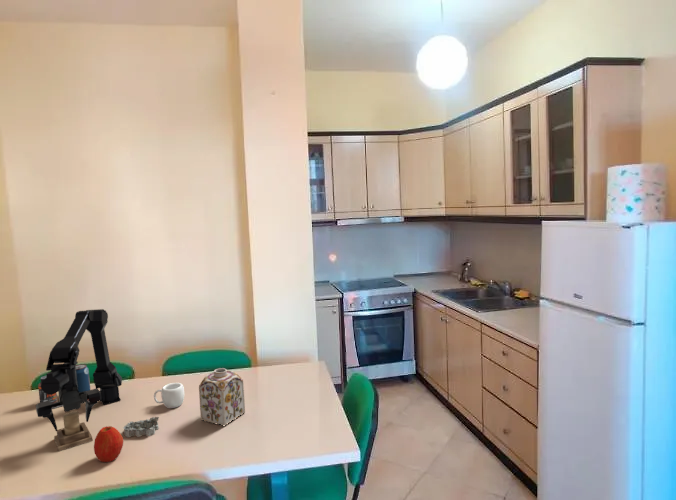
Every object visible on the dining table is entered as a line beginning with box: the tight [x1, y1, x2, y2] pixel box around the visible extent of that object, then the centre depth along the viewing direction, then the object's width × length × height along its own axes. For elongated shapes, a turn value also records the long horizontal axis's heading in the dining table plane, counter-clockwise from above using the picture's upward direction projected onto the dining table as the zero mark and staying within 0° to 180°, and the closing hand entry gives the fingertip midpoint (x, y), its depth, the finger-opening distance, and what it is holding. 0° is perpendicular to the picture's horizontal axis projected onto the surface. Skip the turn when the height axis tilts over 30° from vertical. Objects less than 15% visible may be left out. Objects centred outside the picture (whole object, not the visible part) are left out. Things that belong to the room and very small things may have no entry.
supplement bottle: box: [37, 375, 58, 403], centre depth 187 cm, size 6×6×11 cm
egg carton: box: [123, 416, 160, 438], centre depth 161 cm, size 11×8×4 cm
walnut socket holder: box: [53, 422, 94, 452], centre depth 157 cm, size 10×10×3 cm
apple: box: [93, 425, 124, 463], centre depth 145 cm, size 8×8×11 cm
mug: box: [153, 382, 185, 409], centre depth 182 cm, size 12×8×8 cm
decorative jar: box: [198, 367, 246, 426], centre depth 170 cm, size 12×12×18 cm
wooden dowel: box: [62, 410, 81, 436], centre depth 157 cm, size 4×4×8 cm
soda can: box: [75, 363, 91, 392], centre depth 195 cm, size 7×7×12 cm
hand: (72, 426), depth 157 cm, fingers open, 9 cm apart
